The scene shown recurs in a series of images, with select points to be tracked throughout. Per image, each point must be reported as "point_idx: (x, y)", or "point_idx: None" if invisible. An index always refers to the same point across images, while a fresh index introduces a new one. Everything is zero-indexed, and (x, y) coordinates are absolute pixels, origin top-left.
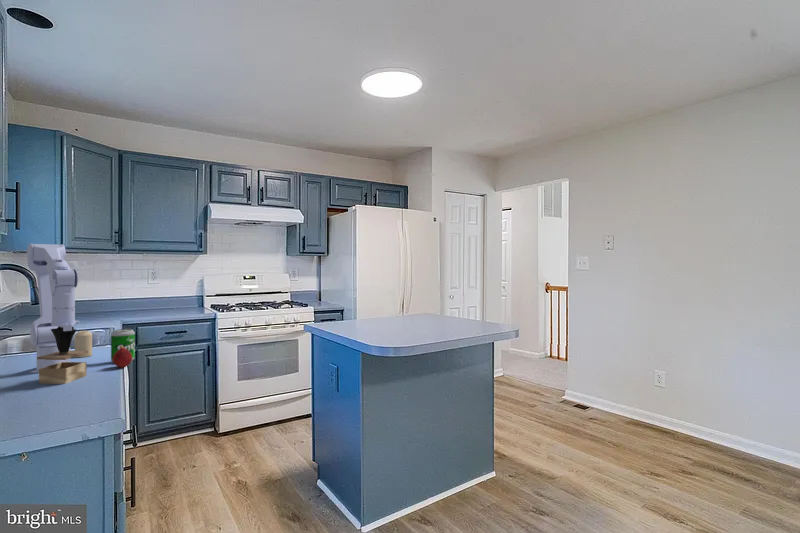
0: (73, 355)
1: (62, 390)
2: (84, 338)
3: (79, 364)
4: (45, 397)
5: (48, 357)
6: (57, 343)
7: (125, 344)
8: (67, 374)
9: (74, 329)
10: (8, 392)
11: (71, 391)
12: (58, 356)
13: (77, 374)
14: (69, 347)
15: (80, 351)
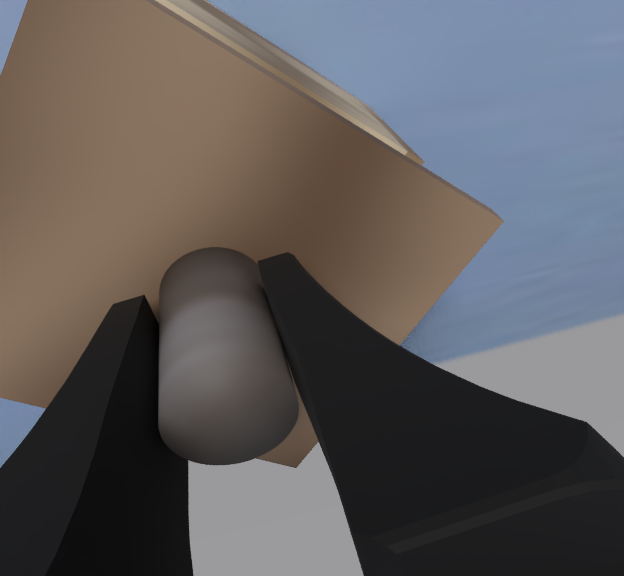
0: (393, 151)
1: (511, 106)
2: None
3: (232, 42)
4: (615, 179)
5: None
6: (183, 478)
7: None
8: (378, 125)
9: (494, 543)
10: None
11: (590, 36)
12: (382, 306)
13: (248, 36)
14: (310, 275)
15: (82, 88)
